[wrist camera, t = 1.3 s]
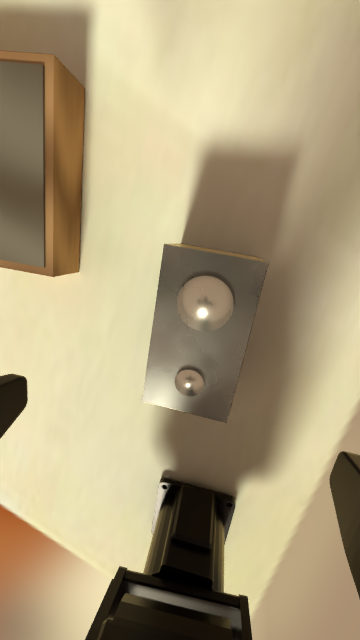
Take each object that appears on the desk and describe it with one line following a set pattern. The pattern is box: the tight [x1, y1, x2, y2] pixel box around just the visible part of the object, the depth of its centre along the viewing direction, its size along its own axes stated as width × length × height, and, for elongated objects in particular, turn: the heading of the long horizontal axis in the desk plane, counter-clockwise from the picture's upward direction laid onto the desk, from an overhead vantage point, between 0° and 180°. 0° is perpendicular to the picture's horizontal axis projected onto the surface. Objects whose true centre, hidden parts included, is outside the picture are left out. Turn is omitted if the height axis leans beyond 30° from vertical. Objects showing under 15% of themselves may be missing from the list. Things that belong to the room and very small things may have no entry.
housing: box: [142, 244, 269, 423], centre depth 16 cm, size 9×5×5 cm, turn 172°
